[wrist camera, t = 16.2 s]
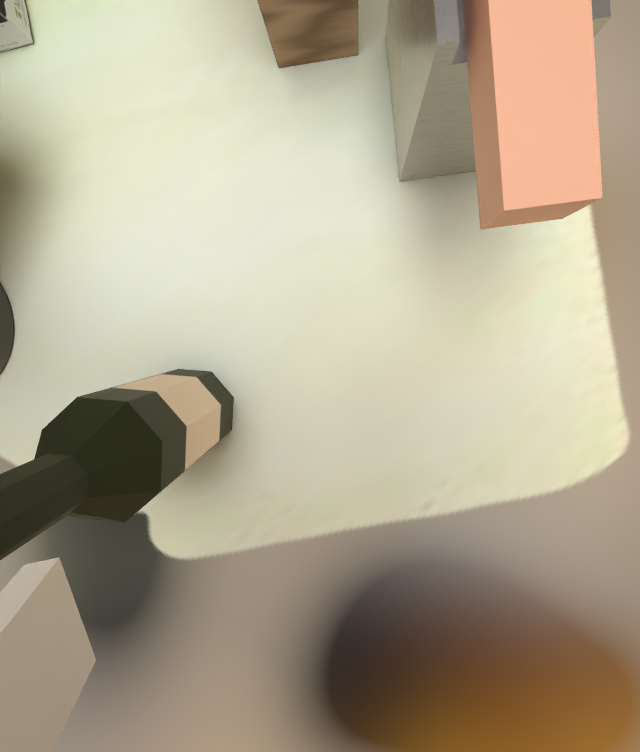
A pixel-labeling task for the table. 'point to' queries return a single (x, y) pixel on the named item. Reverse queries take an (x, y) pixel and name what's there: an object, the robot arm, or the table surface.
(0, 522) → the wine bottle
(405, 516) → the table surface
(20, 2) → the tea box
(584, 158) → the bar
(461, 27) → the block
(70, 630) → the robot arm
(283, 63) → the post
